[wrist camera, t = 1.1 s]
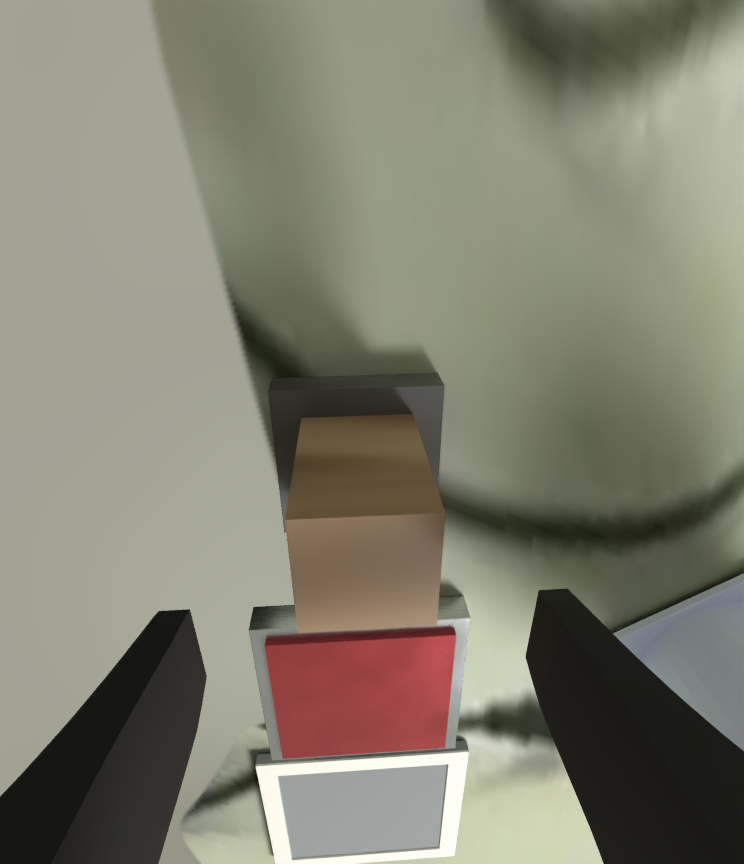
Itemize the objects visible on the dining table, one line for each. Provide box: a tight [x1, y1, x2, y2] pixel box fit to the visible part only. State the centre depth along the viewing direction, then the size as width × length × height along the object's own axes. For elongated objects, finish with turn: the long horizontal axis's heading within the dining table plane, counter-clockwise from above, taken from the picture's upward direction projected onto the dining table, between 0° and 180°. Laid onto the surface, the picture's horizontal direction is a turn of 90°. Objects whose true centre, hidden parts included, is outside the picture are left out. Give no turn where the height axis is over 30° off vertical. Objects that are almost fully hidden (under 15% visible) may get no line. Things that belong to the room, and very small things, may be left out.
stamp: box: [268, 373, 445, 633], centre depth 15 cm, size 6×6×6 cm
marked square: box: [256, 740, 469, 864], centre depth 28 cm, size 11×11×1 cm
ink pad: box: [249, 596, 470, 760], centre depth 22 cm, size 9×9×2 cm
